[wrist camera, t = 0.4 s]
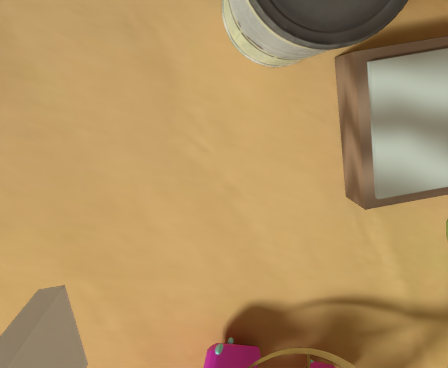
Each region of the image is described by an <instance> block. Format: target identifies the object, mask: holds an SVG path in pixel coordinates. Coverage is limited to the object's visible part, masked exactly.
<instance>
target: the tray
mask: <svg viewBox="0 0 448 368" xmlns="http://www.w3.org/2000/svg"><path fill="white" fill-rule="evenodd" d="M335 67H336V79H337V92H338V104H339V116H340V129H341V141H342V153H343V166H344V178H345V190H346V197H347V198H349V199H350V200H352V201H353V202H355V203H356V204H358V205H359V206H361V207H362V208H364V209H365V210H366V209H371V208H376V207H382V206H387V205H393V204H398V203H404V202H409V201H415V200H420V199H426V198H431V197H437V196H442V195H448V36H444V37H438V38H432V39H426V40H421V41H415V42H409V43H403V44H397V45H391V46H385V47H379V48H373V49H367V50H361V51H355V52H352V53H348V54H345V55H341V56H338V57H335Z"/></svg>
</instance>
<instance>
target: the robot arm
mask: <svg viewBox="0 0 448 368" xmlns="http://www.w3.org/2000/svg"><path fill="white" fill-rule="evenodd" d="M87 365H88V362H87V359H86V355H85V352H84V349H83V345H82V342H81V338H80V335H79V332H78V328H77V325H76V321H75V318H74V315H73V311H72V308H71V305H70V301H69V298H68V294H67V291H66V288H65V285H63V286H57V287H51V288H45V289H39V290H38V291H37V292H36V293H35V294H34V296H33V297H32V298H31V299H30V301H29V302H28V303H27V304H26V305H25V307H24V308H23V309H22V310H21V312H20V313H19V314H18V315H17V316H16V318H15V319H14V320H13V321H12V323H11V324H10V325H9V326H8V327H7V329H6V330H5V331H4V332H3V334H2V335H1V336H0V368H86V367H87Z"/></svg>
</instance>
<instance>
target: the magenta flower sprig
mask: <svg viewBox="0 0 448 368" xmlns="http://www.w3.org/2000/svg"><path fill="white" fill-rule="evenodd" d="M446 236H447V240H448V220H447V222H446ZM233 342H234V340H233V338H229V340H228V344H224V343H216V344H214V345H212V346H211V347H210V348H209V349H208V350H207V354H206V359H205V364H204V368H257V365H258V364H259V363H261V362H264V361H266V360H268V359H270V358H273V357H276V356H279V355H284V354H296V353H302V354H306V355H307V368H335V367H334V366H333V365H330V364H326V363H322V362H317V361H316V362H314V361H313V360H310V354H311V355H315V356H319V357H322V358H325V359H327V360H330V361H332V362H334V363H336V364H337V365H339V366H341V367H342V368H356V367H355V366H353V365H352V364H351V363H349V362H347V361H346V360H344V359H342V358H340V357H338V356H336V355H334V354H331V353H329V352H325V351H322V350H317V349H312V348H290V349H284V350H279V351H276V352H274V353H271V354H269V355H267V356H265V357H263V358H261V359H260V349H259V348H258V347H257V346H247V345H236V344H233Z"/></svg>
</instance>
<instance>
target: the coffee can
mask: <svg viewBox="0 0 448 368" xmlns="http://www.w3.org/2000/svg"><path fill="white" fill-rule="evenodd" d="M407 1H408V0H222V16H223V22H224V25H225V29H226V31H227V34H228V36H229V38H230V40H231V41H232V43H233V44H234V46H235V47H236V48H237V49H238V51H240V52H241V53H242V54H243V55H244V56H245V57H247V58H248V59H250V60H252V61H253V62H255V63H258V64H261V65H264V66H270V67H284V66H288V65H292V64H295V63H297V62H299V61H301V60H303V59H306V58H309V57H312V56H315V55H318V54H320V53H323V52H326V51H329V50H332V49H338V48H342V47H347V46H350V45H354V44H357V43H359V42H362V41H364V40H366V39H368V38H370V37H371V36H373V35H375V34H376V33H378V32H379V31H380V30H382V29H383V28H384V27H385V26H387V25H388V24H389V23H390V22H391V21H392V20H393V19H394V18H395V17H396V16H397V14H398V13H399V12H400V11H401V10H402V9H403V7H404V6H405V4H406V3H407Z"/></svg>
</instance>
